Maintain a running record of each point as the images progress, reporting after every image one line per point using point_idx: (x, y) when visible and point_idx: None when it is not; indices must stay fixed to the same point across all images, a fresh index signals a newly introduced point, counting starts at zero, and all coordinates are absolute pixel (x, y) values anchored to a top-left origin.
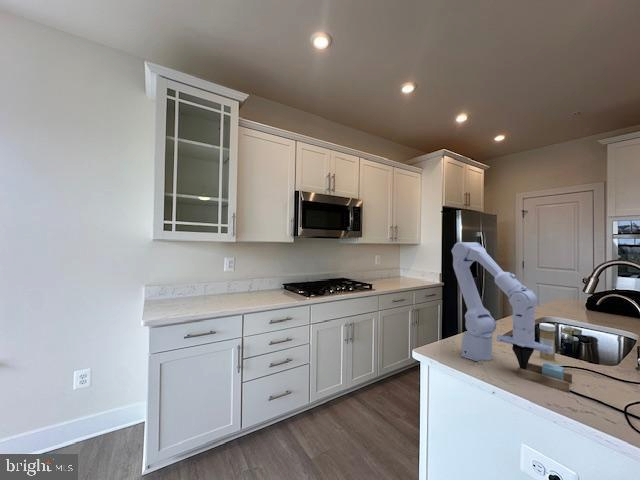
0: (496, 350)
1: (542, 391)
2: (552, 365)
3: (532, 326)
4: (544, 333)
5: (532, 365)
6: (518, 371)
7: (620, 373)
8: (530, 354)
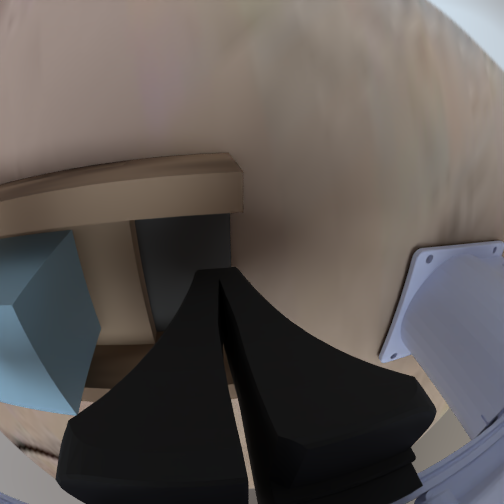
0: None
1: (51, 103)
2: (18, 392)
3: None
4: None
5: None
6: (229, 166)
7: None
8: (72, 420)
